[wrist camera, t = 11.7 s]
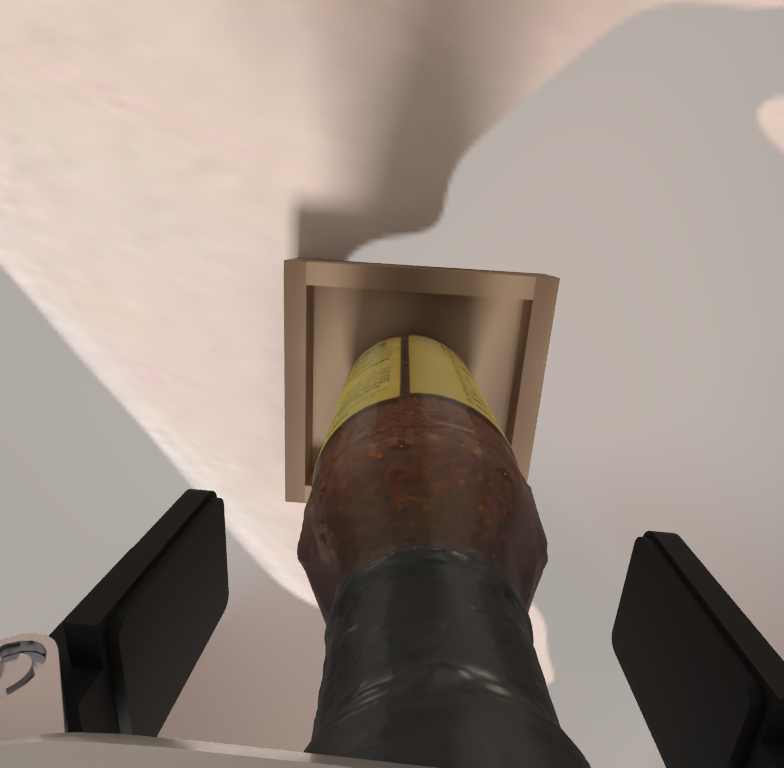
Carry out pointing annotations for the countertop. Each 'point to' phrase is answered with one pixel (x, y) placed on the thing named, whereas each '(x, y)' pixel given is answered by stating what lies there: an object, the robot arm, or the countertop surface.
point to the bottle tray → (414, 316)
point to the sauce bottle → (426, 574)
